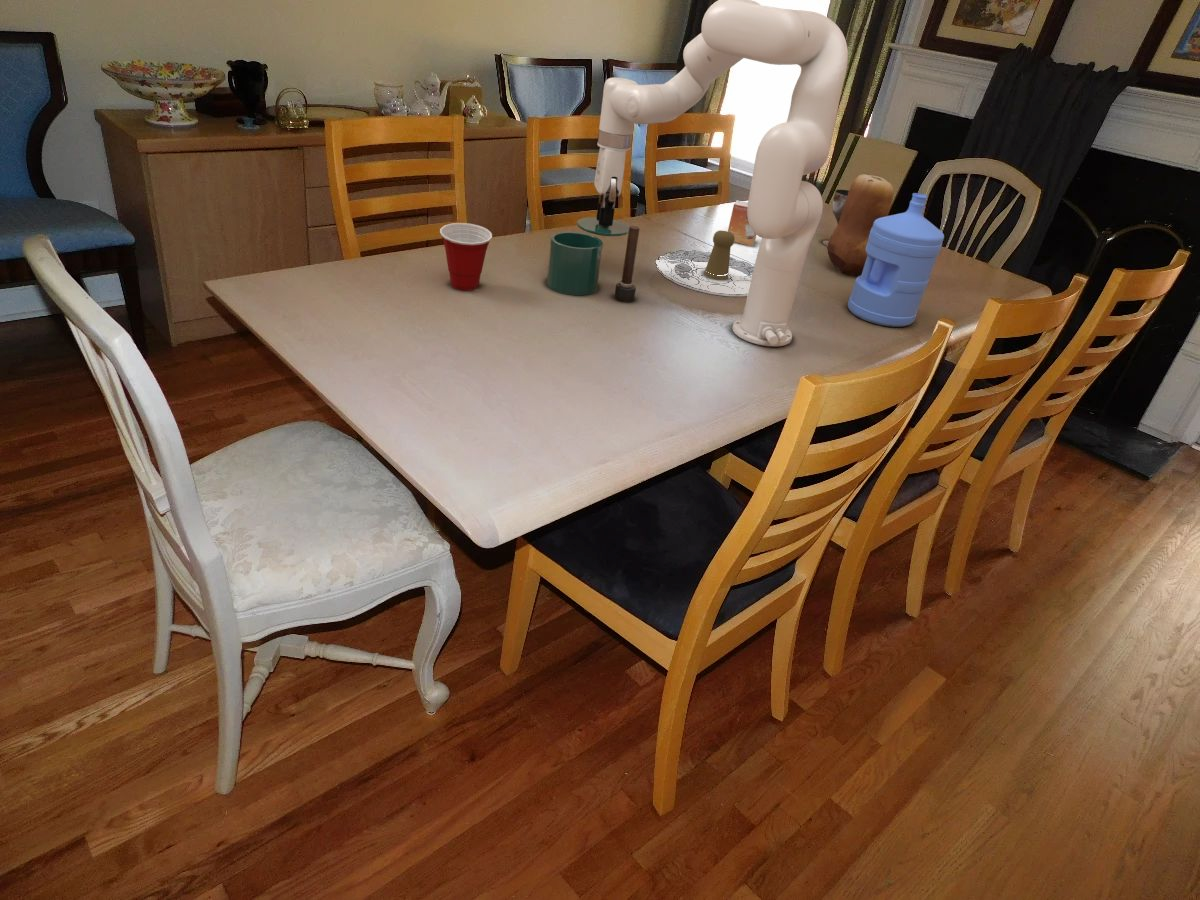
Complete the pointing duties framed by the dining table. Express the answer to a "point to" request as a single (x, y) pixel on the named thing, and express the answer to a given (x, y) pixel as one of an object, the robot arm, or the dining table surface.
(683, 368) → the dining table surface
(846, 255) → the butternut squash
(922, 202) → the water jug
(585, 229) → the jar lid
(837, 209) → the wine glass
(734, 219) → the small box
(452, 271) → the plastic cup
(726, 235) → the olive pawn
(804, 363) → the dining table surface
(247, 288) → the dining table surface
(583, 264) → the jar
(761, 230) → the robot arm
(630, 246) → the peg on round base
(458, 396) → the dining table surface
